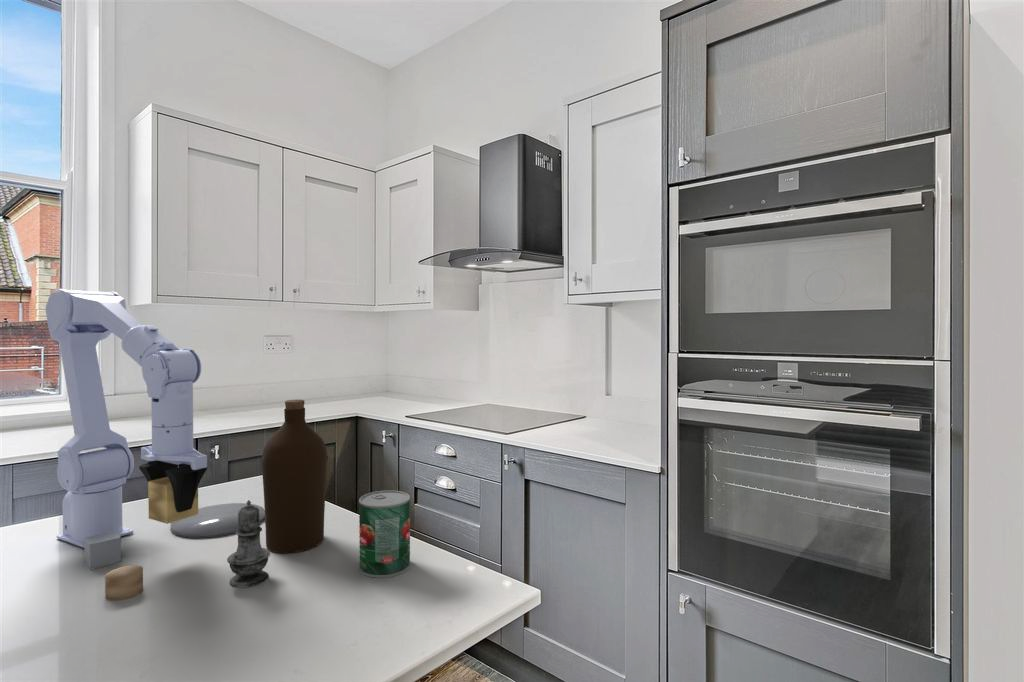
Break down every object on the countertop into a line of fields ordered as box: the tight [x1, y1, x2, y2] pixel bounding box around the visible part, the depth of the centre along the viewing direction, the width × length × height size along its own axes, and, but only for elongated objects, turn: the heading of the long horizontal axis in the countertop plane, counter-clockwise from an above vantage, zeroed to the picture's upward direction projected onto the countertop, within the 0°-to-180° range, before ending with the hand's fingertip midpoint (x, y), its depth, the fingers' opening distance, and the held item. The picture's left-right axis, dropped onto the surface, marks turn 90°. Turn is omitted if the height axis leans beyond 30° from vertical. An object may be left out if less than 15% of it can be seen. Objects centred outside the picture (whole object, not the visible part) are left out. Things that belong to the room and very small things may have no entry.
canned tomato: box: [358, 489, 411, 579], centre depth 86 cm, size 8×8×11 cm
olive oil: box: [261, 399, 328, 554], centre depth 95 cm, size 11×11×25 cm
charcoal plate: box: [170, 502, 265, 539], centre depth 105 cm, size 16×16×1 cm
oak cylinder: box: [104, 564, 144, 601], centre depth 78 cm, size 4×4×3 cm
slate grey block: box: [83, 531, 122, 570], centre depth 88 cm, size 4×4×4 cm
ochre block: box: [147, 477, 199, 524], centre depth 89 cm, size 5×5×6 cm
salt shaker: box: [226, 499, 271, 589], centre depth 82 cm, size 6×6×12 cm
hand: (173, 507), depth 89 cm, fingers closed on ochre block, 5 cm apart
